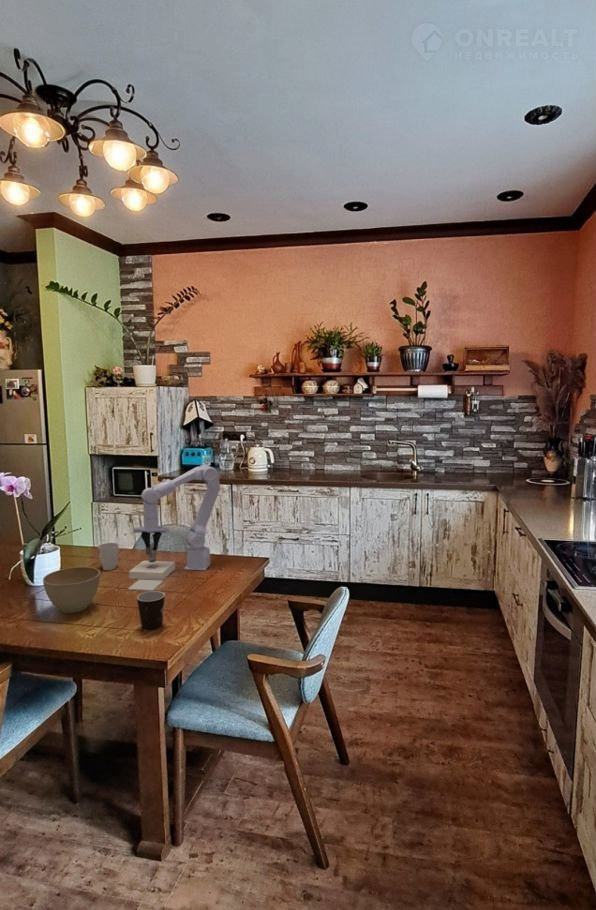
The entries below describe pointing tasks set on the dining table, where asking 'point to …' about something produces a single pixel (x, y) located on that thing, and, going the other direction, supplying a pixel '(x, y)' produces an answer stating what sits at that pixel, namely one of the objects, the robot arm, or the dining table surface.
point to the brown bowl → (72, 588)
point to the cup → (108, 555)
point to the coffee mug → (151, 609)
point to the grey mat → (145, 585)
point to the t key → (151, 553)
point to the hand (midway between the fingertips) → (152, 549)
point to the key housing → (152, 570)
